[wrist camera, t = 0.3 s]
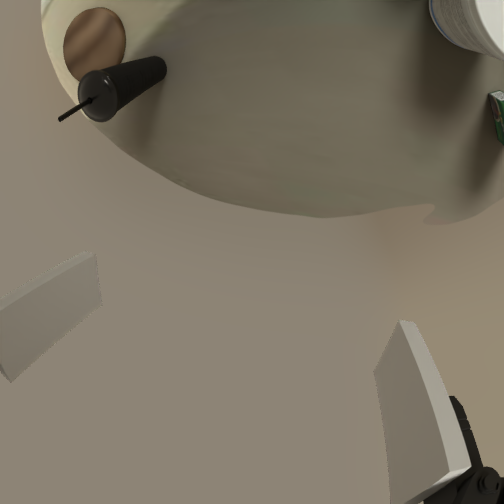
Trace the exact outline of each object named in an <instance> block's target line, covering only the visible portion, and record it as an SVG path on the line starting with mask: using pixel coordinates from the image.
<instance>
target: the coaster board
mask: <svg viewBox="0 0 504 504" xmlns="http://www.w3.org/2000/svg"><path fill="white" fill-rule="evenodd" d="M125 44H126V38H125V30H124V27H123V24H122V22H121V20H120V19H119V17H118V16H117V15H116V14H115V13H114V12H113V11H111V10H109V9H107V8H93V9H88V10H86V11H83V12H82V13H80V14H79V15H78V16H76V17H75V18H74V20H73V21H72V22H71V24H70V25H69V27H68V29H67V32H66V35H65V38H64V45H63V53H64V59H65V63H66V65H67V68H68V70H69V71H70V73H71V74H72V75H73V77H74V78H76V79H77V80H78V81H80V80H81V79H82V77H83V76H84V75H85V74H86V73H88V72H90V71H92V70H101V69H104V68H108V67H111V66H114V65H118V64H120V63H121V61H122V59H123V56H124V52H125Z"/></svg>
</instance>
